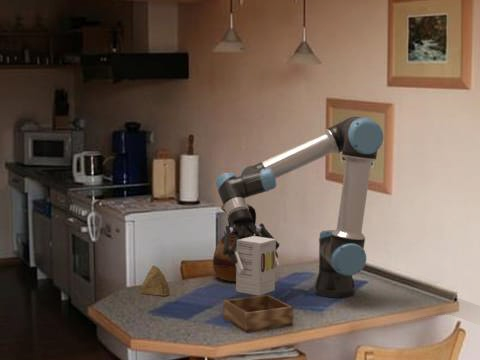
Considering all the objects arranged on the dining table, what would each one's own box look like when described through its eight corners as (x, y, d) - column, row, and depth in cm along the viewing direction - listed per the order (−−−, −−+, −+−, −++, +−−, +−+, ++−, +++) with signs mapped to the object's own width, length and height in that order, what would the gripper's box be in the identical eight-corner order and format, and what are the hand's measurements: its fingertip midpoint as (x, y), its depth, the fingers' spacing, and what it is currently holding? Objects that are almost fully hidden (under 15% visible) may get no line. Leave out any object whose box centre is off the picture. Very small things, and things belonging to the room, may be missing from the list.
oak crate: (268, 312, 272) (268, 294, 271) (292, 325, 257) (293, 307, 257) (223, 318, 265) (223, 300, 264) (246, 332, 250) (246, 313, 249)
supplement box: (259, 296, 253) (259, 243, 251) (235, 291, 258) (235, 239, 256) (275, 290, 261) (276, 238, 259) (252, 285, 266) (252, 235, 264)
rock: (177, 288, 293) (166, 279, 301) (165, 272, 289) (154, 263, 297) (154, 309, 290) (144, 298, 298) (142, 292, 286) (131, 282, 294)
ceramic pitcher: (202, 279, 315) (202, 203, 311) (232, 270, 332) (233, 197, 328) (244, 287, 304) (244, 208, 300) (273, 276, 320) (274, 201, 317)
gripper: (267, 218, 276) (288, 272, 265) (201, 223, 266) (220, 279, 254) (275, 205, 271) (297, 259, 259) (208, 209, 260) (228, 266, 249)
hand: (259, 269), depth 257 cm, fingers closed on supplement box, 12 cm apart
